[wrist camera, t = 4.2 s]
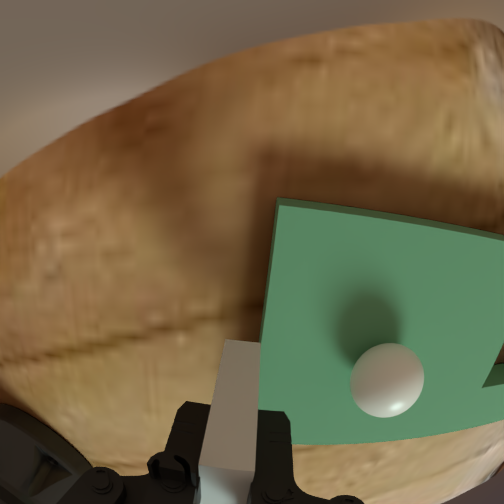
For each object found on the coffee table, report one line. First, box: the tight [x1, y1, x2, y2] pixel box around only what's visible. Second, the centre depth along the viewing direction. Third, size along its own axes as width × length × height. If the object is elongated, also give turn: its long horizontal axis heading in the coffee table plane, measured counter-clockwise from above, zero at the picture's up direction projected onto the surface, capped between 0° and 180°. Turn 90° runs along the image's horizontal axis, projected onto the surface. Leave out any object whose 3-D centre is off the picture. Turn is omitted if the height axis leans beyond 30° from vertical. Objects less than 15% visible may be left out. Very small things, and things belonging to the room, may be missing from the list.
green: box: [258, 197, 504, 445], centre depth 16 cm, size 24×14×2 cm, turn 84°
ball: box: [350, 343, 424, 418], centre depth 13 cm, size 4×4×4 cm
